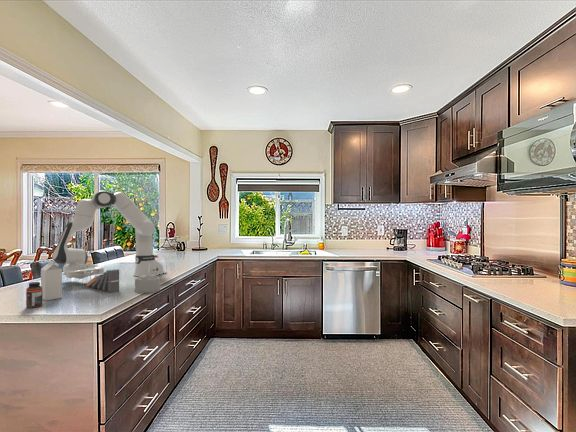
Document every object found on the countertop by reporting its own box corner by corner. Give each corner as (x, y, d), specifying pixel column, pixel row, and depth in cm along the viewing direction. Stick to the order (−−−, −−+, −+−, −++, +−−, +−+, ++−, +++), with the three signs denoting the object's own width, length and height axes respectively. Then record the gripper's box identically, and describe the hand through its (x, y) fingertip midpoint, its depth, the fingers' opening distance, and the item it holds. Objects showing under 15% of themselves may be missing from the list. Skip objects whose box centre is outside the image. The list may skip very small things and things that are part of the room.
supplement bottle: (23, 307, 152) (24, 282, 152) (39, 304, 157) (39, 280, 157) (29, 309, 149) (29, 284, 149) (44, 306, 154) (44, 282, 154)
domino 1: (91, 285, 192) (100, 274, 187) (100, 283, 197) (108, 273, 191) (92, 288, 192) (101, 277, 186) (101, 286, 196) (110, 276, 190)
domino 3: (102, 289, 186) (106, 270, 183) (111, 287, 190) (115, 269, 187) (103, 291, 185) (108, 272, 182) (112, 289, 189) (117, 270, 186)
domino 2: (96, 287, 189) (103, 272, 185) (105, 285, 193) (112, 271, 189) (98, 289, 188) (105, 275, 184) (107, 288, 192) (114, 273, 188)
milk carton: (45, 301, 163) (45, 262, 163) (40, 298, 168) (40, 261, 168) (62, 298, 169) (62, 261, 169) (56, 296, 173) (57, 259, 173)
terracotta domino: (86, 283, 196) (95, 276, 190) (95, 282, 200) (104, 275, 194) (87, 287, 195) (96, 279, 189) (95, 285, 200) (105, 278, 194)
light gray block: (143, 288, 194) (143, 273, 194) (164, 289, 192) (164, 274, 192) (132, 292, 184) (132, 276, 184) (153, 293, 181) (153, 277, 181)
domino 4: (108, 292, 182) (108, 270, 182) (117, 290, 186) (117, 269, 186) (110, 292, 181) (110, 270, 181) (119, 291, 185) (119, 269, 185)
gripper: (61, 268, 196) (72, 270, 189) (97, 264, 213) (108, 266, 206) (61, 279, 196) (72, 281, 189) (97, 274, 213) (108, 276, 206)
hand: (91, 273), depth 197 cm, fingers closed
